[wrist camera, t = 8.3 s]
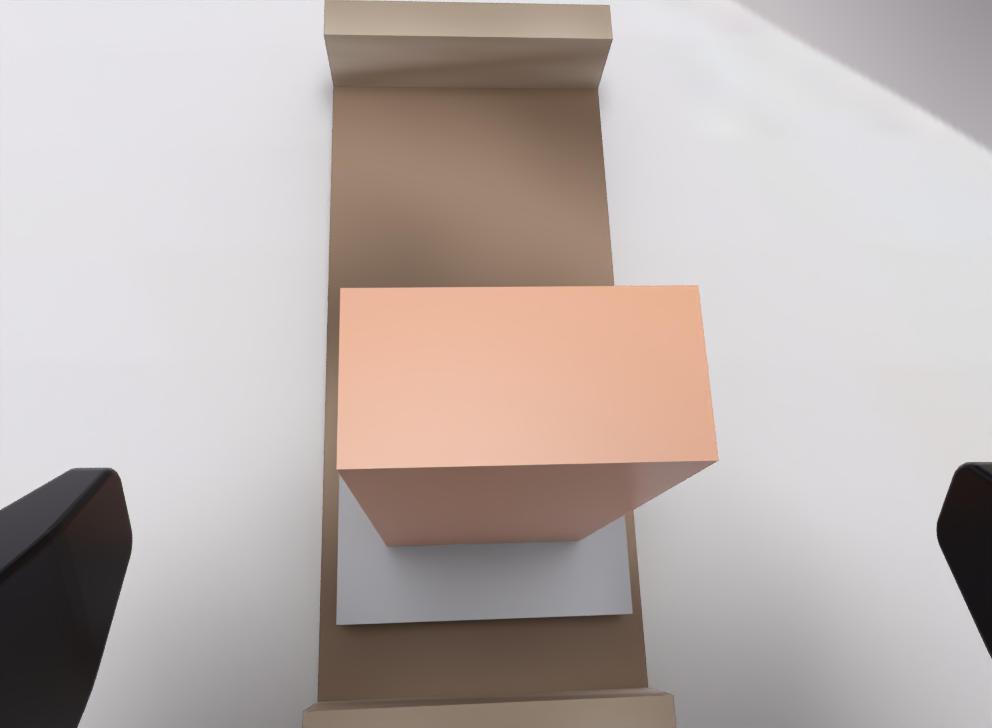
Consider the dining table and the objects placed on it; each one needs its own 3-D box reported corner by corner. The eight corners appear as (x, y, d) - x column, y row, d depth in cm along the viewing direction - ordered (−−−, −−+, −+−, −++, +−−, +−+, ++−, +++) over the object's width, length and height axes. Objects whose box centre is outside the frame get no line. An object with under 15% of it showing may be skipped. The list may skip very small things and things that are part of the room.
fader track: (641, 731, 18) (678, 751, 16) (322, 747, 18) (301, 770, 15) (588, 80, 24) (609, 5, 21) (338, 77, 23) (324, -1, 20)
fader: (622, 614, 18) (832, 604, 8) (341, 624, 18) (227, 627, 8) (604, 391, 19) (766, 167, 10) (345, 395, 19) (254, 166, 9)
